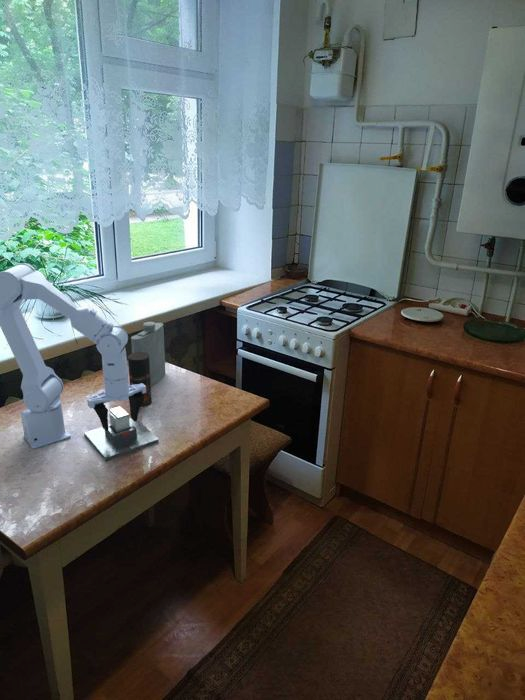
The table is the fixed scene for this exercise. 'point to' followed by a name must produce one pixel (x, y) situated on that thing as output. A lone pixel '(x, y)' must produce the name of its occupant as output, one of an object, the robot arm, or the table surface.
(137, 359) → the deodorant
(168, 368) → the table surface
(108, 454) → the base plate with holder
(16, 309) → the robot arm
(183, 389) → the table surface
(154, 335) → the hip flask
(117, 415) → the column
